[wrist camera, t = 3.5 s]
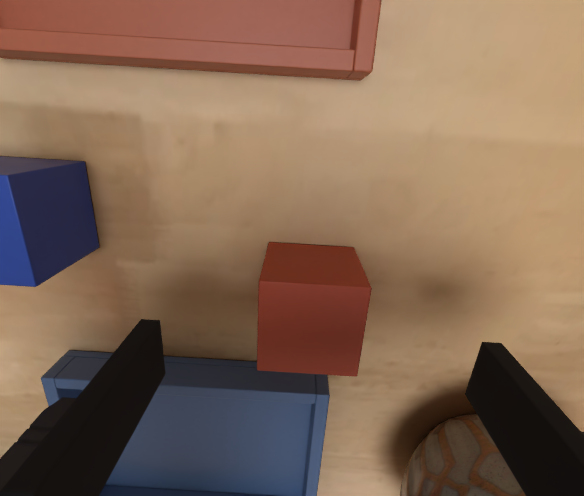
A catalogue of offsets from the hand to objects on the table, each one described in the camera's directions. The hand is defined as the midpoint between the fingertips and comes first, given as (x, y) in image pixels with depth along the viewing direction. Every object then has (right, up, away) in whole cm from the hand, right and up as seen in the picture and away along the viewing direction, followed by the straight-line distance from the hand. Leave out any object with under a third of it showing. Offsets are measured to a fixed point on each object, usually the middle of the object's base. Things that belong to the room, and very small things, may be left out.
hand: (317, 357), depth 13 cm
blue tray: (-8, -9, +11) cm, 16 cm away
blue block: (-15, +7, +5) cm, 17 cm away
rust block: (0, +2, +6) cm, 7 cm away
